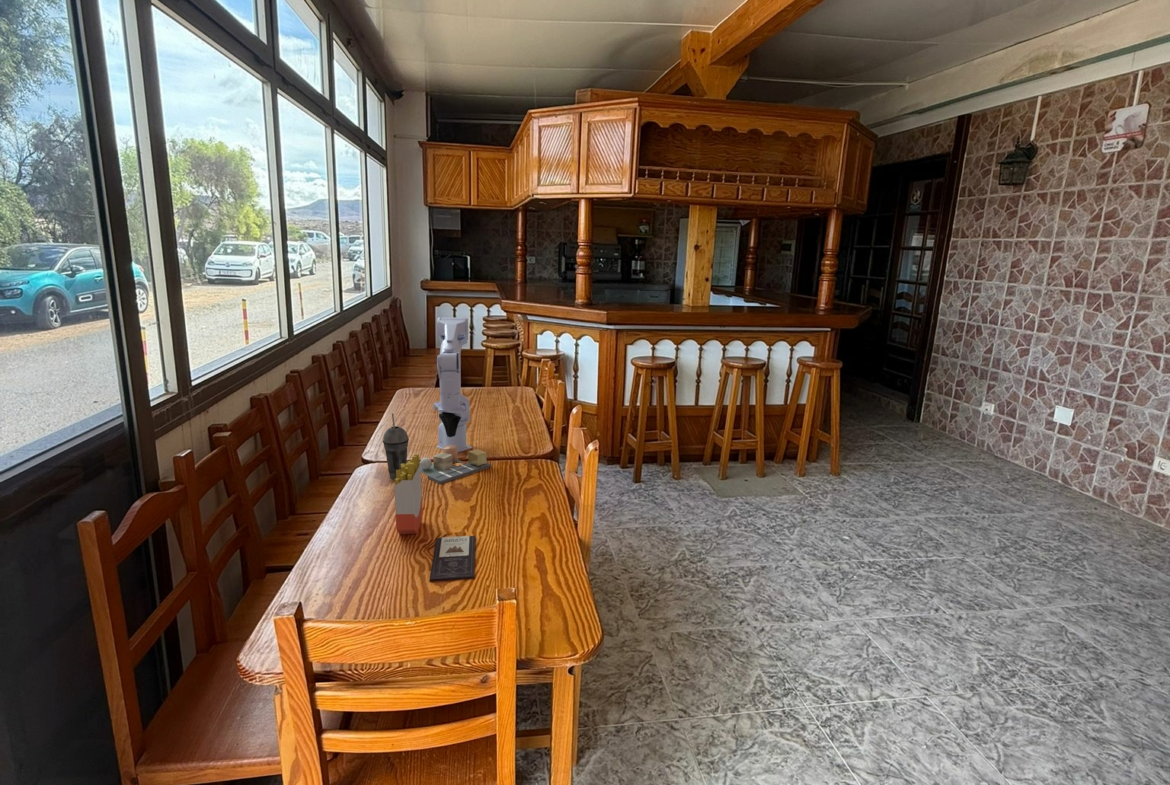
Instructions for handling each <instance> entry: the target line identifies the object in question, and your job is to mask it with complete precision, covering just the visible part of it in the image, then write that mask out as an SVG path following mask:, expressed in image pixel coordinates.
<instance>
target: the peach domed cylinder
mask: <svg viewBox="0 0 1170 785" xmlns="http://www.w3.org/2000/svg"><path fill="white" fill-rule="evenodd" d="M442 453H447V454H451V455H452V462H453V464H455V463H457V462H458V460H459V458H458V452H457V446H456V445H446V446H443V450H442Z"/></svg>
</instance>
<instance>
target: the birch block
mask: <svg viewBox="0 0 1170 785" xmlns="http://www.w3.org/2000/svg"><path fill="white" fill-rule="evenodd" d="M433 463H434V469H437V470H442V471H444V470H447V469H450V468H452V467H453V462H452V455H451V454H447V453H443V452H439V453H437V454H435V455H433Z"/></svg>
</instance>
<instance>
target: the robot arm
mask: <svg viewBox="0 0 1170 785" xmlns="http://www.w3.org/2000/svg"><path fill="white" fill-rule="evenodd" d="M436 327H437V329H436V330H437V336H438V340H439V343H440V350H439V354H438V355H437V358H436V367H437V368H436V369H437V374H438V379H439V398H440V399H439V401H437V402H436V401H435V402H433V403H432V404H433V407H432V408H433V410H437V412H438V421H439V422H440V424H439V425H438V428H437V438H438V445H436V446H435V447H436V448H437V449H441V450H442V451H443V446H446V445H456V446H457V453H460V452H464V451H466V450H470V449H473V446H471V445H468V444H467V423H469V422H470V420H471V419H470V418H471V417H470V416H471V415H470V413H471V412H470V410H471V409H470V401H469V398H468V397H466V396H465V395H463V393H462V391H461V390H462V388H461V386H462V385H461V384H462V380H461V376H462V375H461V373H462V372H461V370H462V369H461V367H462V366H461V363H462V362H461V359H462V358H461V354H462V353H461V352H462V348H463V346H464V345H466V344H468V340H469V318H467V317H466V316H464V317H447V316H446V317H442V316H438V318H437V321H436Z"/></svg>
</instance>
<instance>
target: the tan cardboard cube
mask: <svg viewBox="0 0 1170 785" xmlns="http://www.w3.org/2000/svg"><path fill="white" fill-rule="evenodd" d="M467 456H468V458H467V459H468V460H467V461H468V462H467V463H471V464H474V465H476V466H479V465H482V464H485V463H486V462H487V452H486V451H484V450H481V449H478V448H476V449H472V450H469V451H467Z"/></svg>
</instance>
